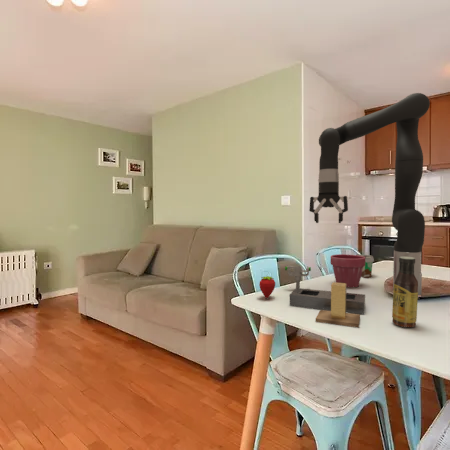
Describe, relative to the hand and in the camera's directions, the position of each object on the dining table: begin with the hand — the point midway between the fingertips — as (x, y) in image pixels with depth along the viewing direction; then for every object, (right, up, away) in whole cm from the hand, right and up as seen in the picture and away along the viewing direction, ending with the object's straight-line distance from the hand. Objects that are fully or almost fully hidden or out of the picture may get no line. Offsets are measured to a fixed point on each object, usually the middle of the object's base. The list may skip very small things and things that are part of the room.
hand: (328, 222), depth 128 cm
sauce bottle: (+11, -30, -33) cm, 46 cm away
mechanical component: (-11, -28, +7) cm, 31 cm away
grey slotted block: (-5, -29, -15) cm, 33 cm away
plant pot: (+13, -27, +14) cm, 34 cm away
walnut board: (-6, -30, -29) cm, 42 cm away
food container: (+29, -26, +32) cm, 51 cm away
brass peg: (-6, -29, -29) cm, 41 cm away
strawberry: (-25, -29, -4) cm, 38 cm away
